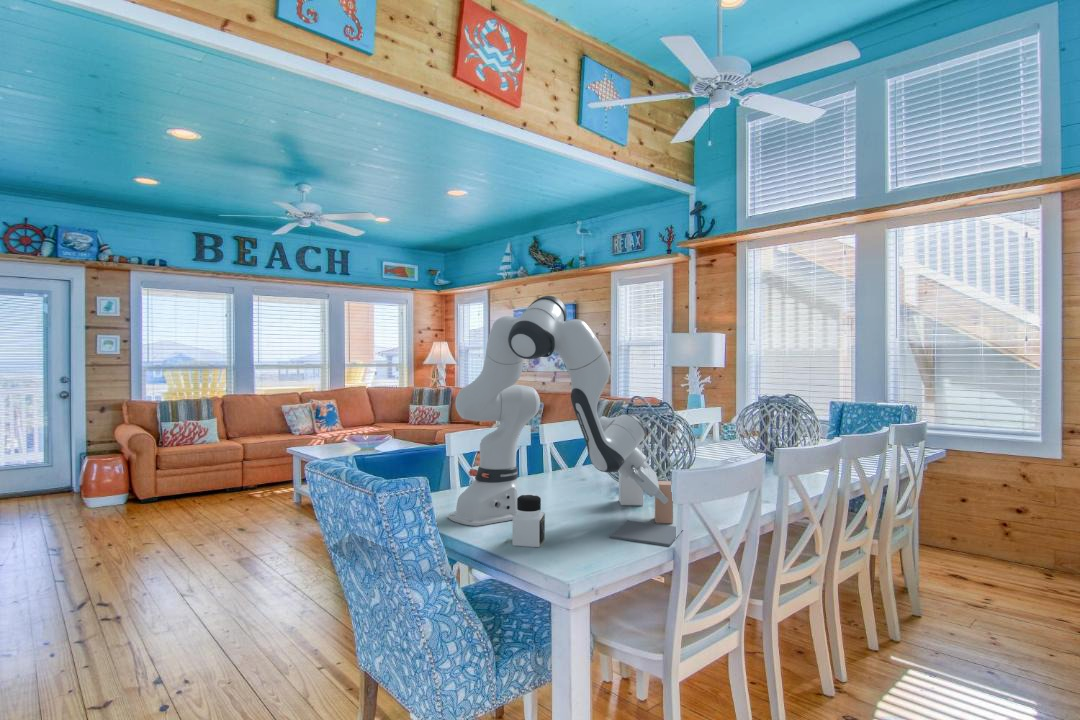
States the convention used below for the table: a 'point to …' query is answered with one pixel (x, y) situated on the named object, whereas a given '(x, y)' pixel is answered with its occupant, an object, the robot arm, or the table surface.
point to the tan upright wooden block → (664, 510)
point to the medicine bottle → (528, 522)
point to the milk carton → (630, 490)
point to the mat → (646, 533)
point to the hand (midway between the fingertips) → (665, 498)
